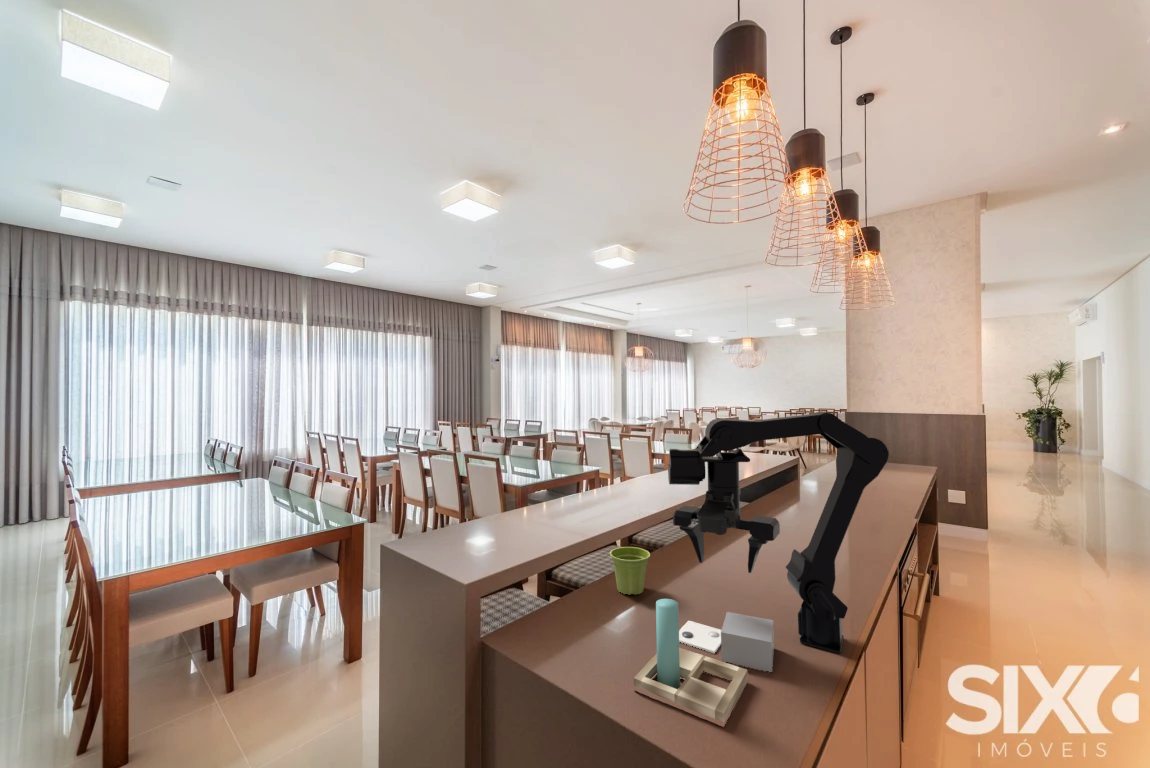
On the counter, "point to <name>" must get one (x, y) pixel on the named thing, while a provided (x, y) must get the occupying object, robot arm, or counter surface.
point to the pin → (668, 642)
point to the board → (697, 684)
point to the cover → (748, 641)
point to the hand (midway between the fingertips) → (725, 567)
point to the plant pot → (630, 569)
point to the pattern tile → (700, 636)
